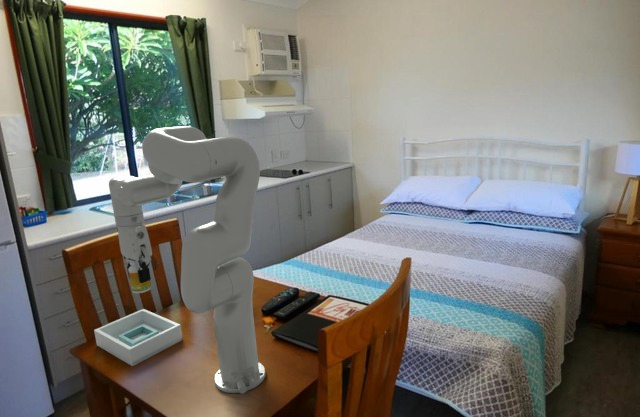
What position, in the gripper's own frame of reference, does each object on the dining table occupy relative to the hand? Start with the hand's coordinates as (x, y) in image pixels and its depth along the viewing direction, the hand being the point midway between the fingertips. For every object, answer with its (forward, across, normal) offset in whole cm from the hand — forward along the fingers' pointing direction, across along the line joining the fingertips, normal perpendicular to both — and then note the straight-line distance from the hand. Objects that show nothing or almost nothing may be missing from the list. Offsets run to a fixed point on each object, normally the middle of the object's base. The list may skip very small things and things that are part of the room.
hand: (139, 278), depth 128 cm
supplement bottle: (+4, 0, 0) cm, 4 cm away
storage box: (+19, 0, +3) cm, 20 cm away
